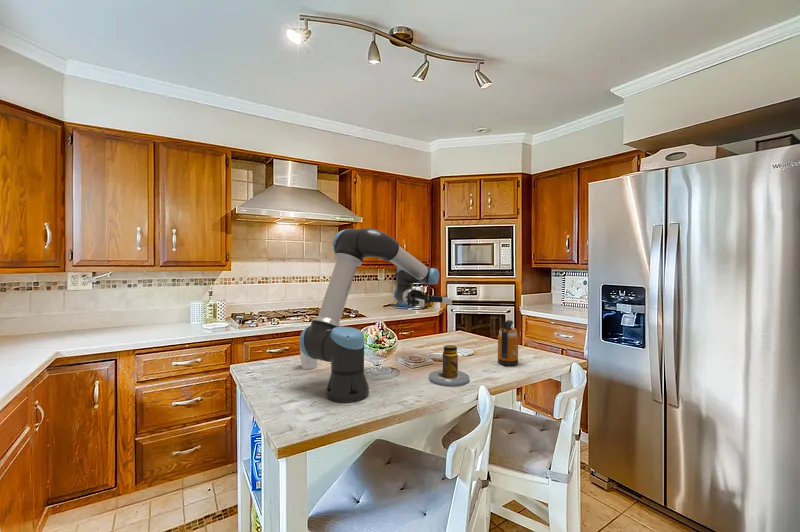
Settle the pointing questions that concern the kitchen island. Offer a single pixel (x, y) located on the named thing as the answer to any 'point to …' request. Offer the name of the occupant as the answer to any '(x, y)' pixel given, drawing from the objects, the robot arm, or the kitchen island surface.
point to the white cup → (307, 361)
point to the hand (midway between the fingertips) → (437, 302)
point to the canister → (508, 344)
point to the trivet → (449, 382)
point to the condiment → (449, 363)
